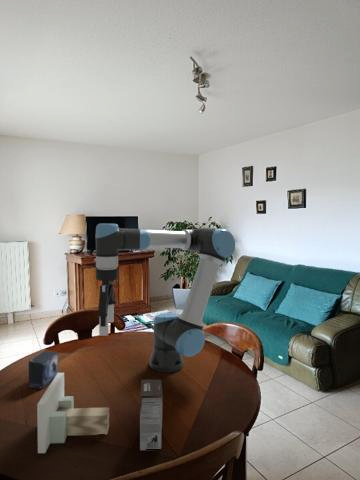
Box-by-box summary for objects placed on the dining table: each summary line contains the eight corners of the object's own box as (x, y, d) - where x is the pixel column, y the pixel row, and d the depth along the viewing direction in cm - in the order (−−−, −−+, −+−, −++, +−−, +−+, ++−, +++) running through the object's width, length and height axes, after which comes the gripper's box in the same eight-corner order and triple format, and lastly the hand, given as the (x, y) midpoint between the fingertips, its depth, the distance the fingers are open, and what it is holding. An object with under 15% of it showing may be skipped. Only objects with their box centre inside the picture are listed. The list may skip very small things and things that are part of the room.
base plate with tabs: (76, 412, 105) (76, 372, 104) (60, 452, 87) (59, 403, 87) (58, 413, 105) (57, 372, 104) (37, 453, 87) (37, 404, 86)
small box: (42, 390, 119) (42, 363, 119) (27, 388, 120) (27, 361, 120) (59, 376, 130) (58, 351, 129) (44, 375, 131) (44, 350, 130)
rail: (109, 425, 99) (109, 406, 99) (107, 434, 95) (107, 414, 95) (58, 427, 98) (58, 407, 98) (54, 436, 94) (53, 415, 94)
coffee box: (140, 429, 97) (140, 379, 96) (161, 428, 98) (161, 378, 97) (139, 451, 88) (139, 395, 87) (162, 450, 89) (162, 394, 88)
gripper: (102, 263, 121) (102, 317, 122) (88, 274, 96) (88, 342, 98) (121, 263, 122) (121, 317, 123) (112, 274, 97) (112, 341, 98)
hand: (106, 328), depth 110 cm, fingers open, 13 cm apart
